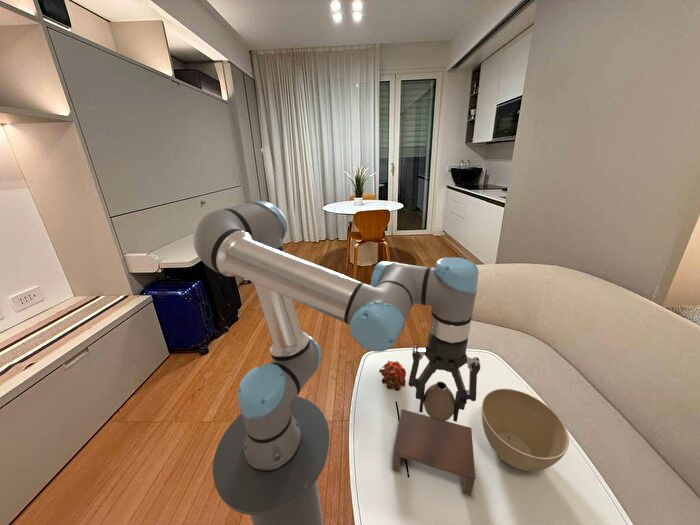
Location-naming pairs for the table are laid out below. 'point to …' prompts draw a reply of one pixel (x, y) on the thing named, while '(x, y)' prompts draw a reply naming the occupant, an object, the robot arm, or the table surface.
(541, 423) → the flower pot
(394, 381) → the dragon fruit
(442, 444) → the shelf
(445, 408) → the vase
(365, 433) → the table surface
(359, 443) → the table surface
